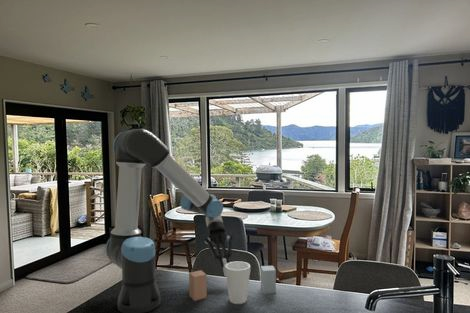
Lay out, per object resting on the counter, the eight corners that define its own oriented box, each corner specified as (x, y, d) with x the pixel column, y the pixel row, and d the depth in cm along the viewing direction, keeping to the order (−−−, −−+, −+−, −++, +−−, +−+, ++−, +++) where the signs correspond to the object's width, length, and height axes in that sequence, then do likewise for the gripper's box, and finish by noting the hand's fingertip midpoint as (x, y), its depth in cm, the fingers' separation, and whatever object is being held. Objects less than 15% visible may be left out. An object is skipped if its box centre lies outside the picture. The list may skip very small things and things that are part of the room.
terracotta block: (194, 300, 122) (194, 277, 122) (189, 295, 126) (189, 272, 126) (206, 297, 124) (206, 274, 124) (201, 292, 129) (200, 270, 128)
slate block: (263, 293, 128) (263, 270, 127) (260, 288, 132) (260, 266, 132) (275, 292, 128) (275, 270, 128) (273, 287, 133) (272, 265, 133)
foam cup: (238, 308, 116) (238, 272, 115) (220, 300, 122) (219, 266, 122) (255, 299, 123) (255, 265, 122) (237, 292, 129) (237, 259, 129)
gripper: (202, 221, 145) (213, 272, 129) (230, 219, 149) (244, 268, 134) (199, 230, 150) (210, 280, 134) (226, 228, 154) (239, 276, 139)
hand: (226, 274), depth 134 cm, fingers closed
